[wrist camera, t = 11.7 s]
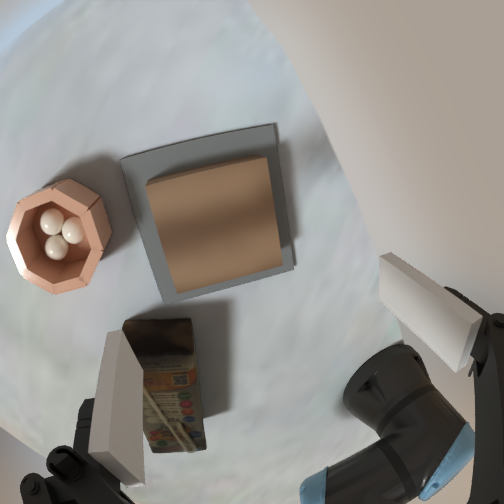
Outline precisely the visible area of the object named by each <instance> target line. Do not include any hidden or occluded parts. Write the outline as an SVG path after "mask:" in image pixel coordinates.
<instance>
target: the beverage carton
mask: <svg viewBox="0 0 504 504" xmlns="http://www.w3.org/2000/svg"><path fill="white" fill-rule="evenodd" d="M122 331H123V333H124V335H125V337H126V339H127V341H128V343H129V345H130V347H131V349H132V351H133V352H134V354H135V356H136V358H137V360H138V362H139V364H140V366H141V368H142V369H143V431H144V434H145V436H146V438H147V440H148V442H149V446H150V448H151V450H152V452H153V453H172V452H187V453H193V452H196V451H201V450H206V449H207V448H206V438H205V432H204V424H203V413H202V403H201V395H200V386H199V376H198V365H197V357H196V349H195V341H194V334H193V328H192V323H191V319H190V318H186V319H172V320H137V321H134V320H126V321H125V322H124V324H123V327H122Z"/></svg>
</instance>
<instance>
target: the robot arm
mask: <svg viewBox="0 0 504 504" xmlns="http://www.w3.org/2000/svg"><path fill="white" fill-rule="evenodd" d="M378 300H379V301H380V302H381V303H382V304H383V305H384V306H385V307H387V308H388V309H389V310H390V311H391V312H392V313H393V314H394V315H395V316H396V317H397V318H399V319H400V320H401V321H402V322H403V323H404V324H405V325H406V326H407V327H408V328H409V329H410V330H412V331H413V332H414V333H415V334H416V335H417V336H418V337H419V338H420V339H421V340H422V341H423V342H424V343H425V344H426V345H427V346H428V347H429V348H431V349H432V350H433V351H434V352H435V353H436V354H437V355H438V356H439V357H440V358H441V359H442V360H443V361H444V362H445V363H446V364H447V365H448V366H449V367H450V368H451V369H452V370H453V371H454V372H457V371H458V370H460V369H461V368H463V367H464V366H466V365H467V362H468V359H469V357H470V355H471V356H472V357H473V358H474V361H473V364H472V366H471V369H470V371H469V374H468V376H469V377H470V376H471V374H472V371H473V373H474V389H475V432H474V431H473V429H472V428H471V427H470V425H469V422H466V420H465V419H464V418H463V417H462V416H461V415H460V414H459V413H458V412H457V411H456V409H455V408H454V407H453V406H452V405H451V404H450V403H449V402H448V401H447V400H446V399H445V398H444V396H443V395H442V394H441V393H440V392H439V391H438V390H437V389H436V388H435V387H434V385H433V384H432V383H431V380H430V378H429V375H428V373H427V370H426V368H425V366H424V363H423V361H422V358H421V357H420V355H419V354H418V353H417V352H416V351H415V350H414V349H413V348H412V347H411V346H409V345H396V346H393V347H390V348H388V349H385V350H383V351H382V352H380V353H378V354H377V355H375V356H374V357H372V358H371V359H370V360H368V361H367V362H366V363H365V364H364V365H363V366H362V367H361V368H360V369H359V370H358V371H357V372H356V373H355V374H354V375H353V377H352V378H351V379H350V381H349V383H348V384H347V386H346V388H345V391H344V395H343V400H344V403H345V405H346V406H347V408H348V410H349V411H350V412H351V414H352V415H354V416H355V417H357V418H358V419H359V420H361V421H362V422H364V423H365V424H366V425H368V426H369V427H371V428H372V429H374V430H375V431H376V433H377V434H378V436H379V437H380V440H378V441H377V442H375V443H373V444H371V445H370V446H368V447H366V448H364V449H363V450H361V451H359V452H357V453H355V454H354V455H352V456H350V457H348V458H346V459H344V460H342V461H340V462H338V463H336V464H334V465H332V466H330V467H328V466H327V467H325V468H324V470H322V471H320V472H318V473H316V474H314V475H312V476H310V477H308V478H306V479H305V480H304V481H303V482H302V484H301V486H300V502H301V504H406V503H407V502H409V501H411V500H412V499H414V498H415V497H417V496H419V497H418V498H419V499H420V500H422V501H426V500H428V499H430V498H431V497H432V496H433V495H435V494H436V493H437V492H438V491H440V490H441V489H442V488H443V487H444V486H445V485H447V484H448V483H449V482H450V481H451V480H452V479H453V478H454V477H455V476H456V475H457V474H458V473H459V472H460V471H461V470H462V469H463V468H464V467H465V465H466V464H467V463H468V462H469V461H470V460H471V459H472V457H473V456H474V466H473V477H472V485H471V493H470V498H469V500H468V502H467V504H504V314H501V313H495V314H492V315H490V314H489V313H487V312H486V311H484V310H483V309H482V308H480V307H479V306H478V305H476V304H475V303H473V302H472V301H469V299H468V298H467V297H465V296H463V295H462V294H461V293H459V292H458V291H457V290H454V289H452V288H449V287H442V286H440V285H439V284H438V283H436V282H435V281H433V280H432V279H430V278H429V277H427V276H426V275H424V274H423V273H422V272H420V271H418V270H417V269H416V268H414V267H413V266H411V265H410V264H408V263H407V262H405V261H404V260H402V259H401V258H399V257H397V256H396V255H394V254H393V253H388V254H385V255H382V256H380V266H379V293H378ZM76 428H77V429H76V431H75V438H74V445H73V449H72V448H71V447H69V446H66V445H63V446H58V447H56V448H55V449H53V450H52V451H51V452H50V453H49V455H48V458H47V463H46V466H47V469H48V471H49V472H50V473H52V474H53V475H54V476H51V477H48V478H45V479H44V478H43V477H42V476H40V475H39V474H36V473H30V474H28V475H26V476H25V477H24V478H23V480H22V481H21V485H20V492H21V496H22V500H23V504H135V503H134V502H133V501H132V500H131V499H130V498H129V497H128V496H127V495H126V494H125V493H124V492H122V491H121V490H120V482H122V483H123V484H124V485H125V486H126V487H136V486H145V473H144V453H143V369H142V368H141V366H140V364H139V362H138V360H137V358H136V356H135V354H134V352H133V351H132V349H131V347H130V345H129V343H128V341H127V339H126V337H125V335H124V333H123V331H122V330H117V331H113V332H109V333H107V338H106V342H105V347H104V352H103V357H102V362H101V367H100V372H99V378H98V383H97V389H96V395H95V398H91V399H85V400H84V402H83V404H82V405H81V407H80V409H79V413H78V421H77V425H76Z"/></svg>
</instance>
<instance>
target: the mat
mask: <svg viewBox="0 0 504 504" xmlns="http://www.w3.org/2000/svg"><path fill="white" fill-rule="evenodd" d="M252 155H260V156H263V157H267V163H268V169H269V175H270V182H271V188H272V194H273V201H274V207H275V214H276V220H277V227H278V234H279V241H280V248H281V255H282V262H283V265H282V266H279V267H275V268H272V269H268V270H265V271H261V272H257V273H254V274H250V275H247V276H243V277H239V278H236V279H232V280H228V281H225V282H221V283H217V284H213V285H210V286H206V287H202V288H198V289H195V290H191V291H187V292H183V293H180V294H177V292H176V289H175V286H174V283H173V280H172V277H171V274H170V271H169V267H168V264H167V261H166V258H165V255H164V251H163V248H162V245H161V241H160V238H159V235H158V231H157V228H156V224H155V221H154V217H153V214H152V210H151V206H150V203H149V199H148V195H147V192H146V188H145V185H146V183H147V181H148V180H150V179H154V178H158V177H161V176H165V175H169V174H173V173H177V172H181V171H185V170H189V169H193V168H197V167H201V166H205V165H210V164H214V163H218V162H223V161H228V160H232V159H237V158H242V157H247V156H252ZM120 163H121V167H122V171H123V175H124V179H125V182H126V186H127V190H128V194H129V197H130V201H131V204H132V208H133V211H134V215H135V218H136V222H137V225H138V228H139V231H140V235H141V238H142V241H143V244H144V247H145V250H146V254H147V257H148V260H149V263H150V266H151V269H152V271H153V274H154V277H155V280H156V283H157V286H158V289H159V291H160V294H161V297H162V300H163V302H164V305H166V304H170V303H174V302H178V301H182V300H186V299H189V298H193V297H197V296H201V295H204V294H208V293H212V292H216V291H219V290H223V289H227V288H230V287H234V286H238V285H241V284H245V283H248V282H252V281H256V280H259V279H263V278H266V277H270V276H273V275H277V274H280V273H284V272H287V271H291V270H294V265H293V257H292V249H291V241H290V233H289V226H288V218H287V211H286V204H285V197H284V190H283V183H282V176H281V170H280V163H279V157H278V150H277V144H276V138H275V132H274V126H273V125H267V126H261V127H255V128H249V129H244V130H238V131H233V132H228V133H223V134H218V135H213V136H208V137H204V138H199V139H195V140H191V141H186V142H182V143H178V144H174V145H170V146H166V147H162V148H159V149H155V150H151V151H147V152H144V153H140V154H137V155H133V156H130V157H127V158H123V159H120Z"/></svg>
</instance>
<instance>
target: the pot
mask: <svg viewBox="0 0 504 504" xmlns="http://www.w3.org/2000/svg"><path fill="white" fill-rule="evenodd" d="M99 197H100V195H98V194H96V193H95V192H93V191H92V190H91V189H89V188H88V187H86V186H85V185H82V184H80V183H77V182H75V181H73V180H72V179H65V180H62V181H60V182H57V183H54V184H52V185H49V186H47V187H44V188H42V189H39V190H37V191H35V192H34V193H32V194H30V195H28V196H26V197H25V198H23V199H21V200H19V202H18V203H17V205H16V208H15V211H14V214H13V217H12V220H11V223H10V226H9V230H8V233H7V237H6V238H8V239H7V243H8V246H9V248H10V251H11V253H12V256H13V258H14V261H15V263H16V265H17V268H18V270H19V272H20V275H23V278H25V279H27V280H28V281H30V282H32V283H33V284H35V285H37V286H39V287H40V288H42V289H44V290H46V291H48V292H49V293H51V294H54V293H55V295H56V294H60V293H64V292H67V291H71V290H75V289H78V288H82V287H85V286H87V284H89V282H90V280H91V278H92V275H93V273H94V271H95V269H96V267H97V265H98V262H99V260H100V258H101V256H102V254H103V252H104V250H105V248H106V246H107V243H108V241H109V239H110V237H111V235H112V234H111V233H112V230H111V227H110V224H109V218H108V214H107V211H106V208H105V206H104V204H103V201H102V198H99Z"/></svg>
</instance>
